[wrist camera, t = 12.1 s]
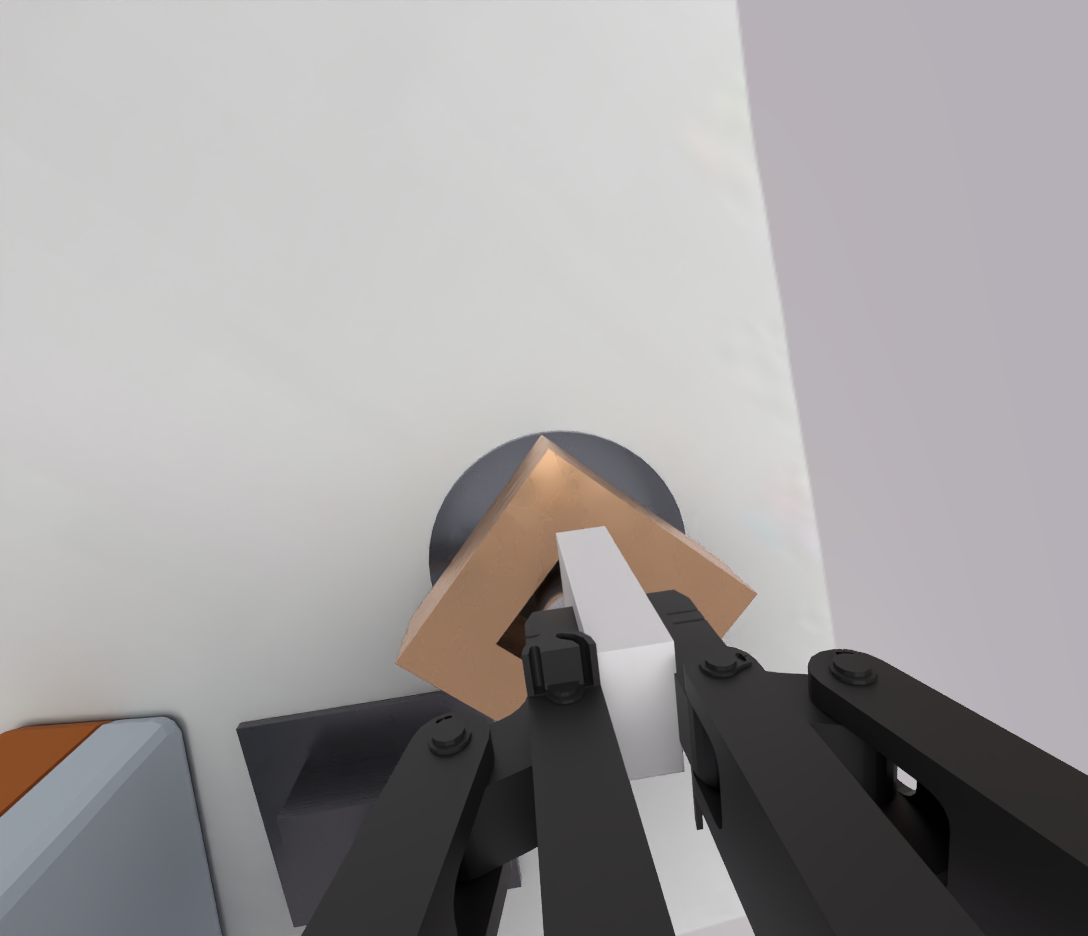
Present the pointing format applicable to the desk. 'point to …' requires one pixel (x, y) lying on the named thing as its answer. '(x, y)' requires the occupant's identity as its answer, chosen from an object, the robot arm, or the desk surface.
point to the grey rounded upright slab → (101, 833)
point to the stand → (330, 783)
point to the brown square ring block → (526, 559)
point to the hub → (496, 470)
